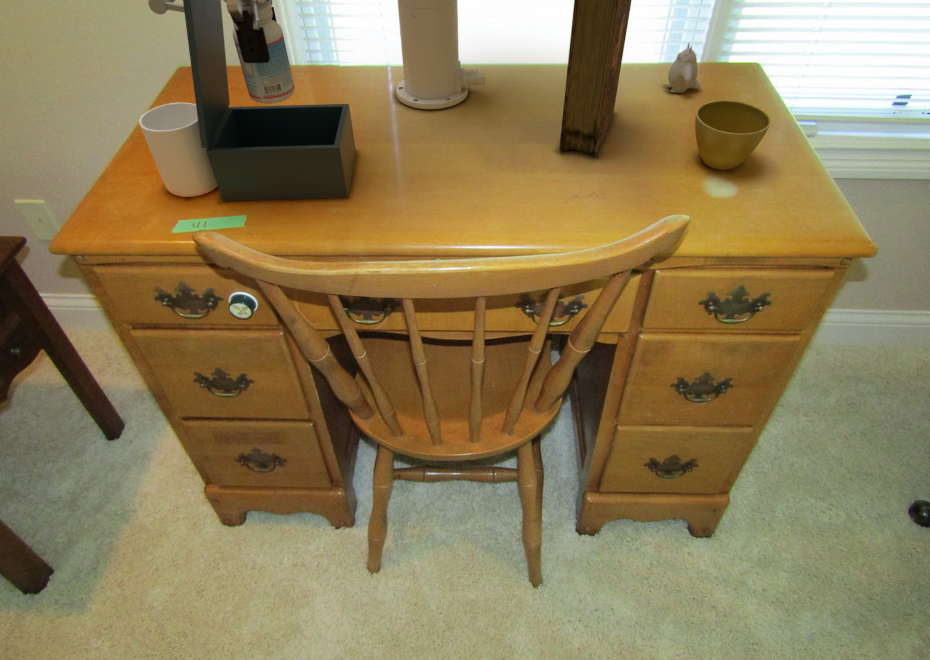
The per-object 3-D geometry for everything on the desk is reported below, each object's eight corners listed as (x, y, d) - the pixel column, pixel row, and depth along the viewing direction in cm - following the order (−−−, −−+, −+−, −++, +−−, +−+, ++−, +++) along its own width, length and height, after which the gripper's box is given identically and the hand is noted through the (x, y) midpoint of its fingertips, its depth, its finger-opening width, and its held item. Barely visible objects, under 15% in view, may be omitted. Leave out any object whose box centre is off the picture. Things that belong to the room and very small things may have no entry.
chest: (356, 151, 98) (348, 103, 92) (348, 197, 89) (339, 147, 83) (242, 155, 98) (227, 106, 92) (222, 201, 89) (205, 151, 83)
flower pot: (692, 179, 91) (704, 133, 86) (678, 143, 98) (689, 99, 93) (763, 180, 91) (780, 134, 85) (744, 144, 98) (759, 100, 92)
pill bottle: (301, 85, 86) (283, -4, 78) (287, 106, 82) (267, 14, 74) (258, 84, 87) (235, -4, 79) (242, 104, 83) (217, 13, 75)
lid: (217, -35, 79) (169, -44, 78) (190, 0, 70) (134, -10, 69) (229, 104, 92) (187, 98, 91) (207, 148, 83) (161, 142, 82)
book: (582, 106, 107) (603, -62, 89) (614, 111, 106) (642, -59, 88) (558, 154, 96) (576, -27, 79) (594, 160, 95) (621, -23, 77)
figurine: (660, 80, 114) (670, 35, 108) (693, 79, 114) (704, 34, 108) (670, 100, 108) (681, 54, 103) (705, 99, 108) (717, 53, 103)
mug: (180, 156, 97) (156, 91, 90) (234, 153, 98) (214, 88, 90) (159, 200, 89) (130, 132, 82) (218, 197, 89) (195, 129, 82)
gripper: (239, -103, 61) (280, 79, 74) (272, -137, 74) (302, 24, 86) (162, -101, 61) (216, 81, 74) (207, -136, 74) (247, 26, 86)
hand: (262, 49), depth 80 cm, fingers closed on pill bottle, 6 cm apart
